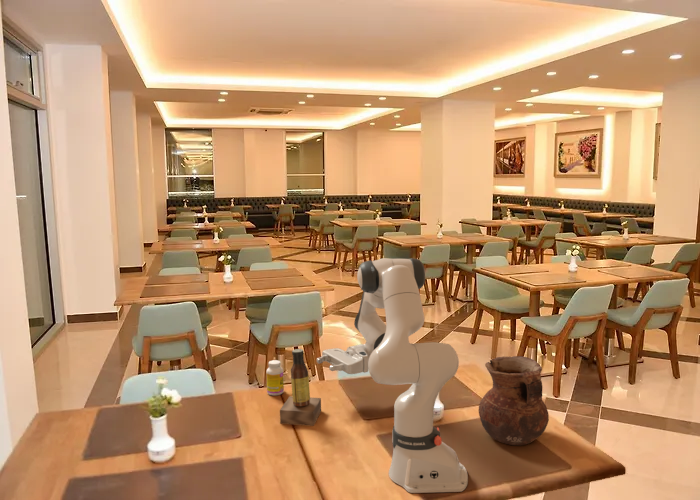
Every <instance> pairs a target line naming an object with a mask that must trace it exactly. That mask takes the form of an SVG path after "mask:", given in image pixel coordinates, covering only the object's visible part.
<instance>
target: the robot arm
mask: <svg viewBox="0 0 700 500" xmlns="http://www.w3.org/2000/svg"><path fill="white" fill-rule="evenodd" d="M426 273H427V272H426V269H425V266H424V263H423V262H422V260H420V259H418V258H414V257H411V258H410V257H409V258H391V257H390V258H387V257H384V258H380V259H376V260H366V261H364V262H361V264H360V265H359V266H358V270H357V272H356V274H357V275H356V276H357V277H356V280H357V283H358V285H359V287H360V290H362V291H363V293H362V296H361V300H360V305H359V309H358V311H357V314H356V316H355V318H354V322H353V323H354V328H355V329H356V330H357V331H358V332H359V334H361V336H362V337H363V338H364V339H365V343H364V344H362V343H361V344H356V345H352V346H348V347H347V348H346V350H344V349H342V348H338V347H336V348H328V349H324V350H322V352H321V353H322V355H321V356H320V357H317V358H316V363H317V364H318V365H320V364H323V362H327V363H329V364H330V365H329V367H328V368H329V371H330V372H334V371H337V372H339V371H340V372H341V371H343V372H344V373H346V374H347V375H357V374H361V373H369V374H370V376H371V379H373V381H374V382H375V383H377V384H380V385H388V386H398V385H399V386H401V385H410V384H411V386H409V388H407V390H406V391H404V392H402V393H401V394H400V395H398V396H397V398H396V399H395V402H394V405H393V406H394V407H393V411H394V413H393V414H394V415H393V423H394V425H393V426H392V430H391V431H392V432H391V433H392V434H391V435H392V437H391V438H392V439H391V441H392V447H393V449H392V450H393V452H392V458H391V461H390V462H391V463H390V467H389V469H388V476H389V478H390V479H391V481H392V482H394V483H396V484H397V485H399V486H401V487H403V488H404V489H405V490H406V492H408V493H411V494H421V493H422V494H423V493H427V494H429V493H457V492H458V493H459V492H460V493H461V492H463V491H464V490H465V489H467V486H468V484H469V483H468V482H469V476H468V471H467V468H466V467H465V466H464V464H462V463H461V462H460V460H459V458H458V454H457V452H456V450H455V449H453V448H452V447H451V446H450V445H447V444H446V443H445V442H443V441H442V440H443V439H442V437H441V432H440V429H439V426H438V427H437V428H435V427H434V411H435V404H436V401H437V398H438V396H439V393H440V392H441V390H442V388H443V387H444V386H445V385H446V384H447V383H448V382H449V380H451V379H452V378H454V377H455V375H456V374H457V372H458V369H459V367H460V366H459V363H460V361H459V356H458V353H457V351H456V350H455V348H454V347H453V346H452V345H451V344H449V343H443V342H436V341H434V342H433V341H432V342H420V343H419V342H418V343H415V342H414V343H412V342H410V340H409V337H410V336H412V335H413V334H415V333H416V332H418V331H419V330H420V329H422V327H423V326H424V323H425V313H424V309H423V303H422V299H421V294H420V289H422V288H423V286H425V282H426V276H427V274H426ZM376 309H383V310H384V314H385V322H384V321H383V320H382V318H381V317H380V316H379V314H378V313H377V311H376Z"/></svg>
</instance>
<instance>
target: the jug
mask: <svg viewBox="0 0 700 500" xmlns="http://www.w3.org/2000/svg"><path fill="white" fill-rule="evenodd" d="M489 361H490V362H489ZM489 361H488V362H487V361H486V362H485V363H484V365H485V367H486V370H487V371H488V372H489V374H490V376H491V379H492V388H491V389H489V390H488V391H487V392H486V393H485V394H484V395H483V396H482V398H481V400H480V403H479V405H478V415H479V420H480V422H481V424H482V428H483V429H484V431H485V432H486V433H487V434H488V435H489V436H490V437H491V438H492V439H493V440H495V441H498V442H500V443H502V444H506V445H509V446H518V447H519V446H526V445H529V444H531V443H532V442H533V441H535V440H537V439H538V438H539V437H540V436H541V435H543V433H544V432H545V430H546V429H547V426H548V424H549V422H550V421H549V420H550V417H549V411H548V408H547V405H546V404H545V402H544V400H543V382H542V375H541V373H542V371H543V368H542V365H541V366H540V364H539V363H538V362H537V361H536V360H534V359H532V358H530V357H526V356H522V355H514V356H499V357H495V358H493V359H490V360H489Z"/></svg>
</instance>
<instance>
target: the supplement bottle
mask: <svg viewBox="0 0 700 500" xmlns="http://www.w3.org/2000/svg"><path fill="white" fill-rule="evenodd" d="M265 374H266V393H267V395H270V396H280V395H282V394H283V393H284V392H285V391H284V387H285V385H284V369H283V367H281V361H280V360H277V359H274V360H273V359H272V360H269V361H268V367H267V369H266V373H265Z"/></svg>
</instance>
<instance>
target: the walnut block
mask: <svg viewBox="0 0 700 500" xmlns="http://www.w3.org/2000/svg"><path fill="white" fill-rule="evenodd" d="M321 413H322V398H320V397H311V396H310V403H309V404H308V405H307V406H304V407H297V406H295V405H294V404H293V397H292V395H291V396H288V398H287V399H286V401H285V402H284V403H283V405H282V406H281V407H280V410H279V416H280V417H279V419H280V420H279V421H280V424H281V425H282V424H283V425H297V426H299V425H300V426H310V427H311V426H312V427H313V426H315V424H316V421H317V420H318V417H319V416H320V415H321Z"/></svg>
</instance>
